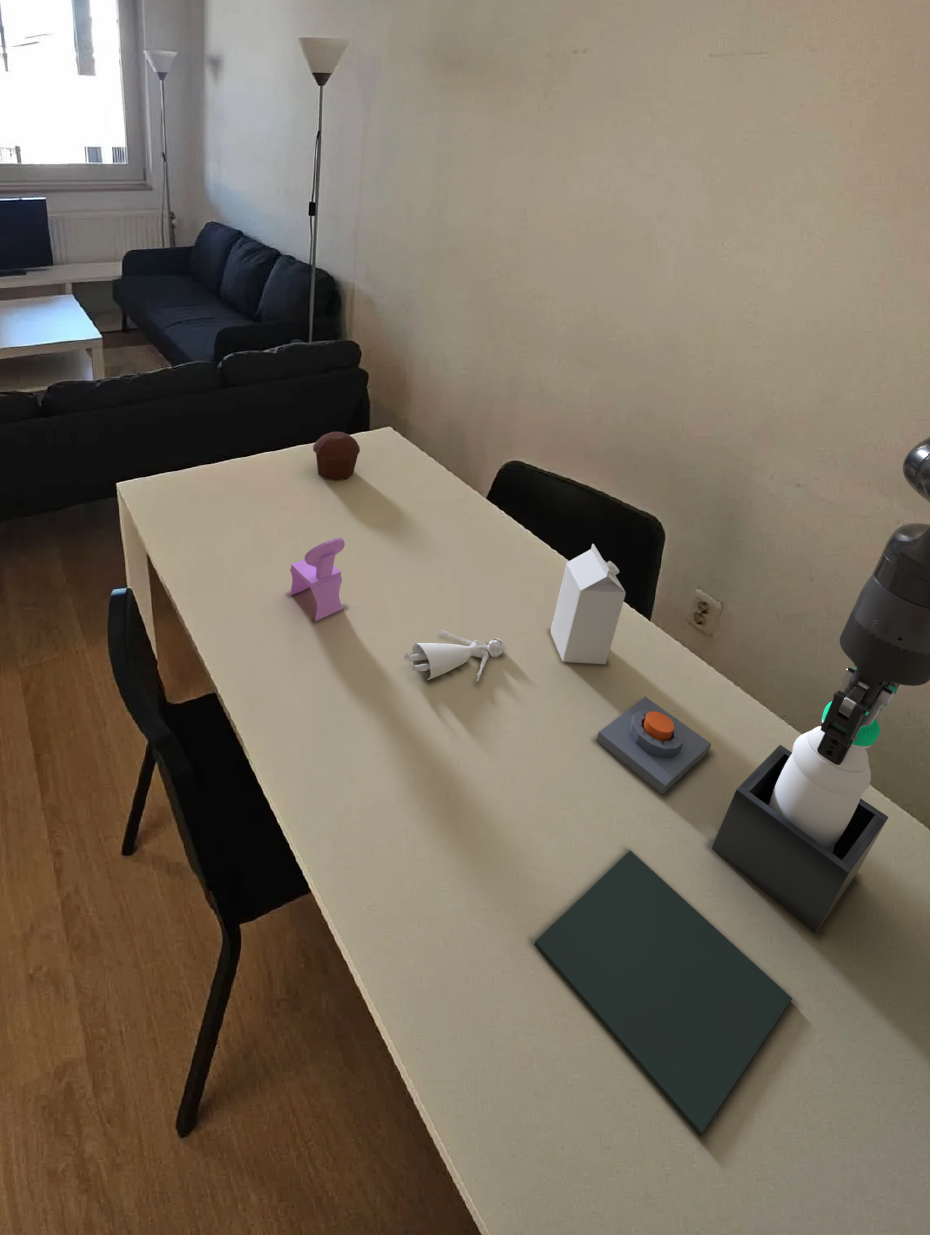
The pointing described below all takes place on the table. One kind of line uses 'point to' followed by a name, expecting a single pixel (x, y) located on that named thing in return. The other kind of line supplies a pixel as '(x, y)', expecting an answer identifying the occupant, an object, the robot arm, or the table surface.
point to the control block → (653, 746)
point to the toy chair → (320, 576)
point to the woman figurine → (451, 654)
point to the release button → (658, 726)
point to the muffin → (336, 455)
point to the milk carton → (587, 609)
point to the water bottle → (823, 785)
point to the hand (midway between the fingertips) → (840, 744)
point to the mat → (665, 986)
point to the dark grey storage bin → (792, 847)
